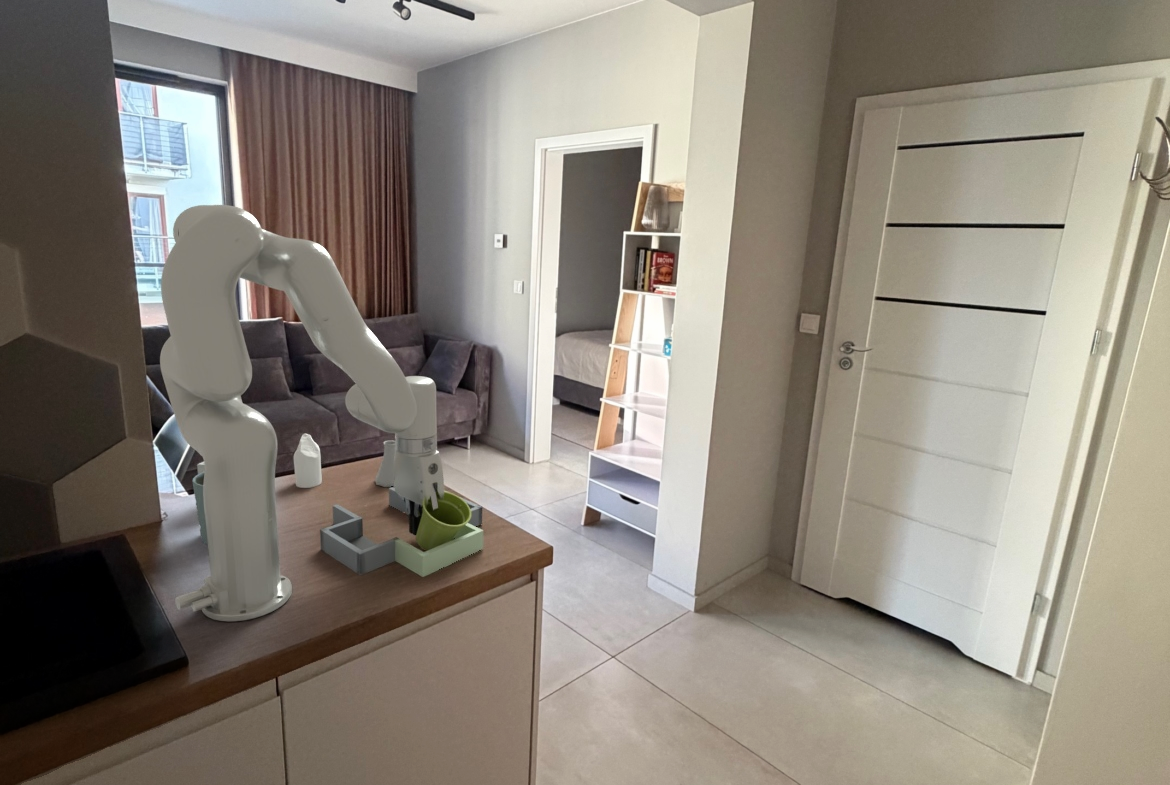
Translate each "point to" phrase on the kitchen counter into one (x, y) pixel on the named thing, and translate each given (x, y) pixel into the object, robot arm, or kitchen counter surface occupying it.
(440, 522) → the plant pot
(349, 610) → the kitchen counter surface
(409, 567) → the grey low walled frame
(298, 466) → the white broken column
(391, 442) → the flask
